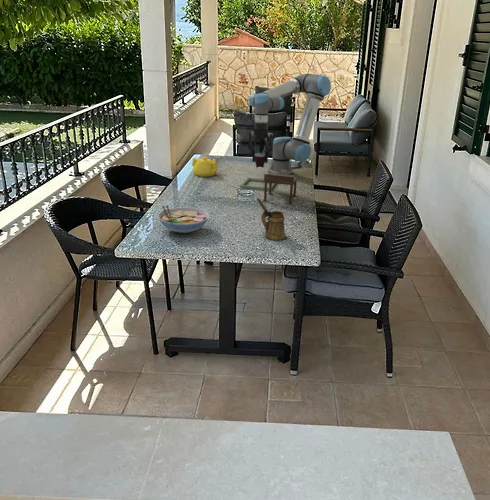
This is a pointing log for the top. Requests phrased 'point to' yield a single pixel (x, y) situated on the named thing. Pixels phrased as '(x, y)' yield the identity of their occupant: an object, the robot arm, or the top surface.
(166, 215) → the ramen bowl
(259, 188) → the bottom bay
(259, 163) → the mate gourd
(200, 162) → the teapot
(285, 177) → the stand
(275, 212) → the wooden mug
